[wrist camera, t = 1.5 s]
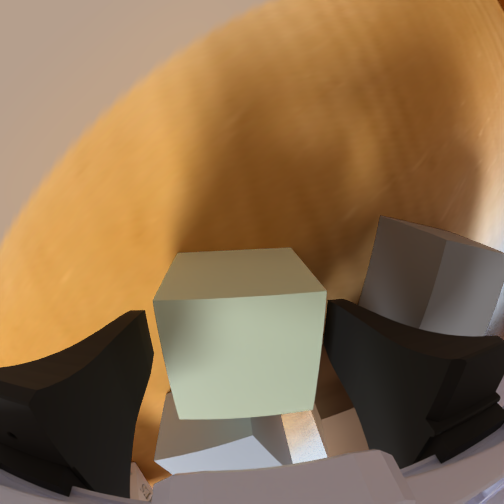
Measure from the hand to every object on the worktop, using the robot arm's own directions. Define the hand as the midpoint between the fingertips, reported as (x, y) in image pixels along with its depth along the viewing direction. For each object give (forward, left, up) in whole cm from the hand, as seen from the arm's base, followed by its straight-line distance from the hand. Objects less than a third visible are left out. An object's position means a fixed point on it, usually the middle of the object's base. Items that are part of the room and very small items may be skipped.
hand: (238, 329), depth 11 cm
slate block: (+1, +7, -3) cm, 8 cm away
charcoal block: (-9, -1, -3) cm, 10 cm away
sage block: (0, 0, -3) cm, 3 cm away
